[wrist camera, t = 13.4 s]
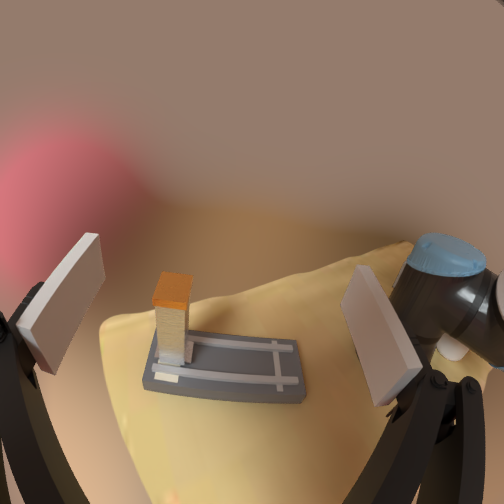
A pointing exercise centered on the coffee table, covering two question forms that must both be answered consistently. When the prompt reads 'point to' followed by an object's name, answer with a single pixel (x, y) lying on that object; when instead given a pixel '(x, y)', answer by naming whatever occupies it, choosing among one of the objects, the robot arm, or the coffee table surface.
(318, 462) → the coffee table surface
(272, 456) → the coffee table surface
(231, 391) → the console
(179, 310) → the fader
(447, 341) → the mug
